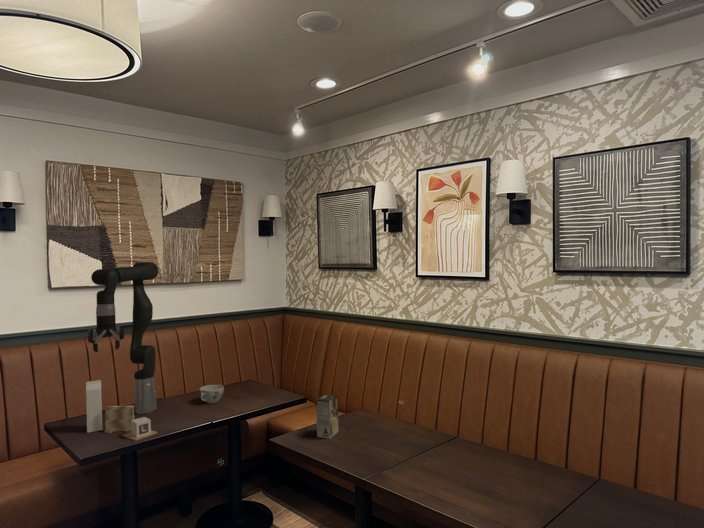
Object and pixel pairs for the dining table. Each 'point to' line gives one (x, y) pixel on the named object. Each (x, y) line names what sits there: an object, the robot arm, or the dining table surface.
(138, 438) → the coaster
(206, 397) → the teacup
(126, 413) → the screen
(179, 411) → the dining table surface
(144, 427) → the cube
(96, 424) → the milk
